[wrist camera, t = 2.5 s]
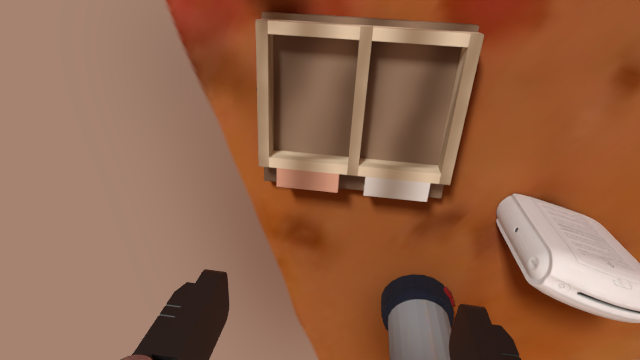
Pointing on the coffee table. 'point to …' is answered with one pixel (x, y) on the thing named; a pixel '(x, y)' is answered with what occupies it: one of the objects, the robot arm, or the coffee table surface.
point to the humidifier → (417, 318)
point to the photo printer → (571, 258)
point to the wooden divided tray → (362, 102)
